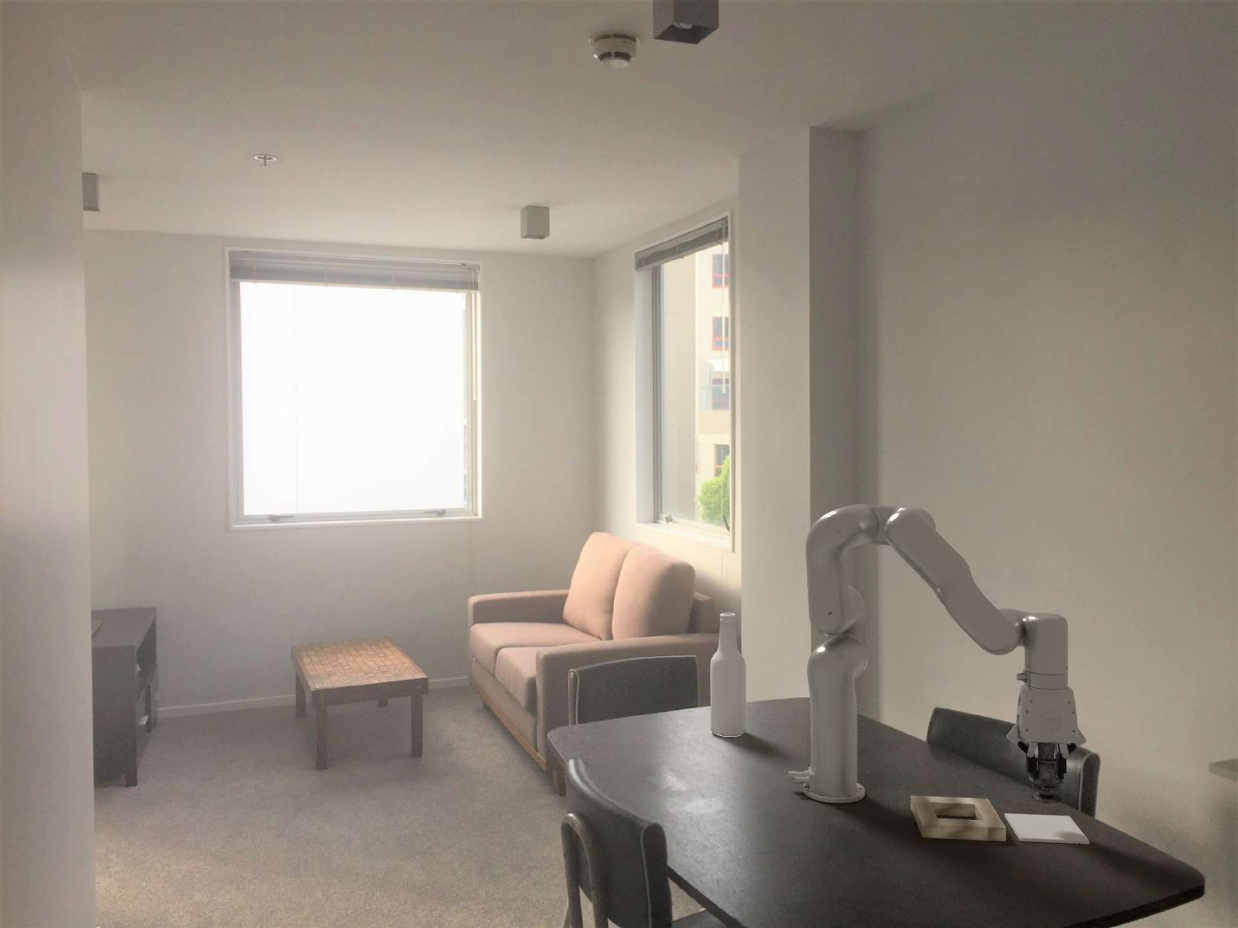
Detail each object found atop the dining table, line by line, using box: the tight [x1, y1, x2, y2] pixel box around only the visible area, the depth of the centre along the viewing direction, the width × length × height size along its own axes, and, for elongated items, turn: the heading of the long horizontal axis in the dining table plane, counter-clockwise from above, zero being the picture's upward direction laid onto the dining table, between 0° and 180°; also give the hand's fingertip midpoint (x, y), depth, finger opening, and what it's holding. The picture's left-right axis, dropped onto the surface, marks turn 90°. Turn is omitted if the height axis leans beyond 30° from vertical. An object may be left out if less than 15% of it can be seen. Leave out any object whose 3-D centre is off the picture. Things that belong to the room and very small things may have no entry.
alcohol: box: [709, 612, 747, 736], centre depth 253 cm, size 9×9×30 cm
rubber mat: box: [1004, 813, 1090, 845], centre depth 191 cm, size 12×12×1 cm
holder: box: [910, 795, 1007, 842], centre depth 194 cm, size 15×15×2 cm
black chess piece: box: [1028, 743, 1064, 805], centre depth 190 cm, size 6×6×12 cm
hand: (1046, 775), depth 190 cm, fingers closed on black chess piece, 4 cm apart
